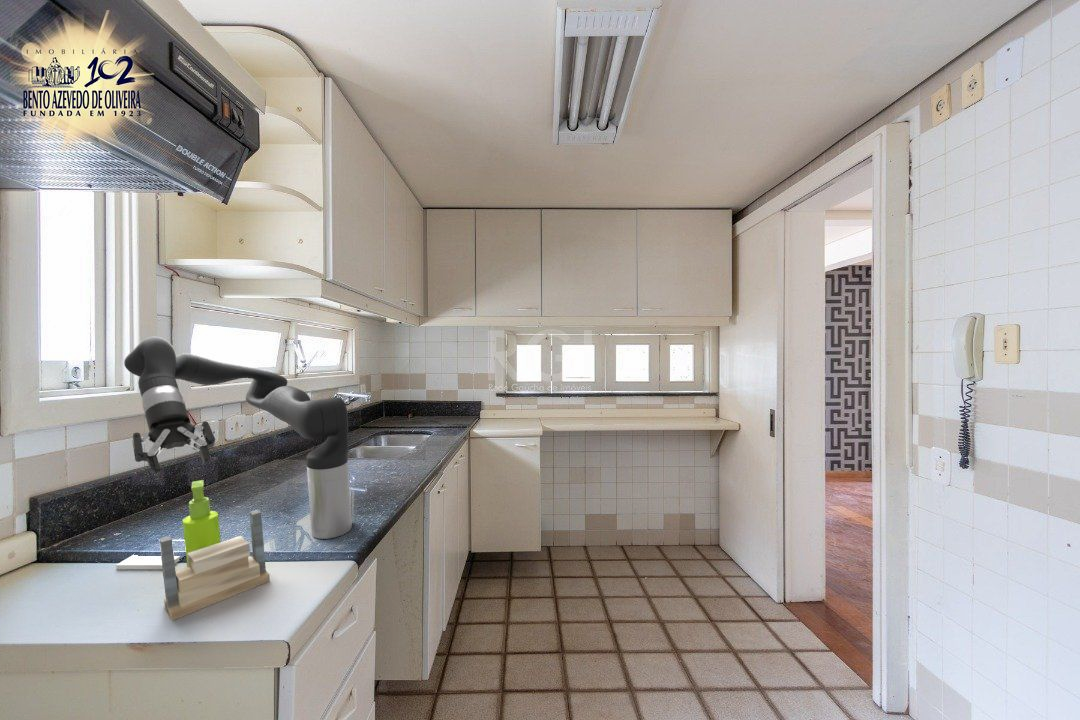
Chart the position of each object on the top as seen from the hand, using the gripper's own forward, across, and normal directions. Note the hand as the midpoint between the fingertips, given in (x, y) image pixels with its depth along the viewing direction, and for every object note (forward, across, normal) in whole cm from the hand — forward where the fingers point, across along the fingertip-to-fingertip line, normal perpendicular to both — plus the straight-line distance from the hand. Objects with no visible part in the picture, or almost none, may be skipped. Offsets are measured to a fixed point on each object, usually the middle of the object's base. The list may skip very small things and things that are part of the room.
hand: (182, 468), depth 103 cm
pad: (+10, +4, -19) cm, 22 cm away
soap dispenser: (+23, 0, -6) cm, 24 cm away
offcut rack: (+29, 0, 0) cm, 29 cm away
